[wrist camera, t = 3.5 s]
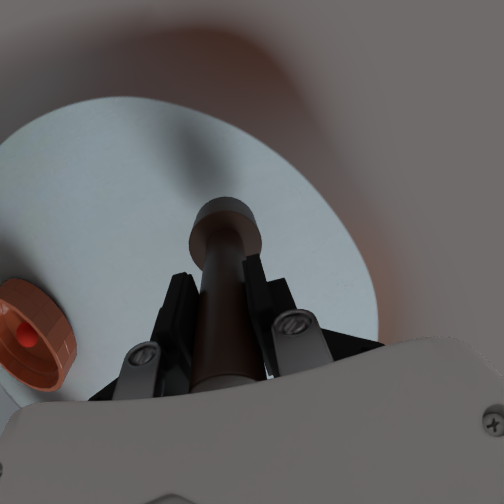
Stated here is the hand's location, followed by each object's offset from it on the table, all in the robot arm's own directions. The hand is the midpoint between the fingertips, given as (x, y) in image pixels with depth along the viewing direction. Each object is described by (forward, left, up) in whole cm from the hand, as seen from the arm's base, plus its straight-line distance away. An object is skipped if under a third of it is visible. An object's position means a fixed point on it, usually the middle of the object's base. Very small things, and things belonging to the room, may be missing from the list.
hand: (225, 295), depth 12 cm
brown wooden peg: (0, 0, -10) cm, 10 cm away
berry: (+6, -26, -10) cm, 29 cm away
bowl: (+6, -26, -12) cm, 29 cm away
